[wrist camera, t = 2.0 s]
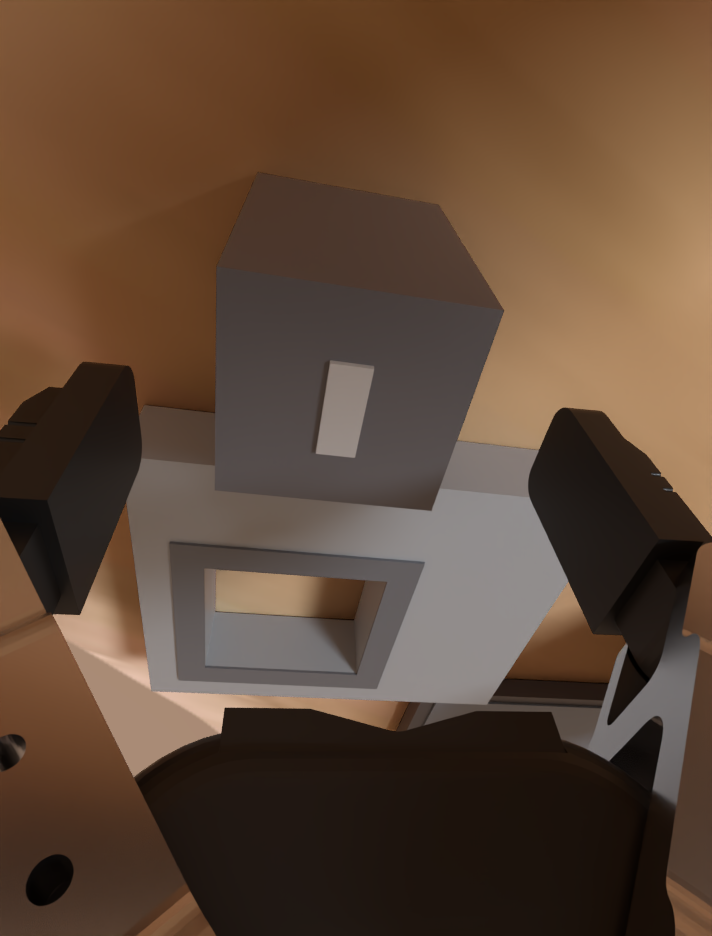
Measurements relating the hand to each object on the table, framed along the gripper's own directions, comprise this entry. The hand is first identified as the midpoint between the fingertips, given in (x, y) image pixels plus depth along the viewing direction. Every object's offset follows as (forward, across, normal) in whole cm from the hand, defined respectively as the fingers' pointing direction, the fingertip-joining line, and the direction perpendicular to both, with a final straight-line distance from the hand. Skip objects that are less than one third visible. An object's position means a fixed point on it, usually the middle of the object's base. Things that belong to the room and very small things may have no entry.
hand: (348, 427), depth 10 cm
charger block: (+5, 0, -1) cm, 5 cm away
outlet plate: (+5, -2, +10) cm, 11 cm away
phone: (+5, -12, +21) cm, 25 cm away
